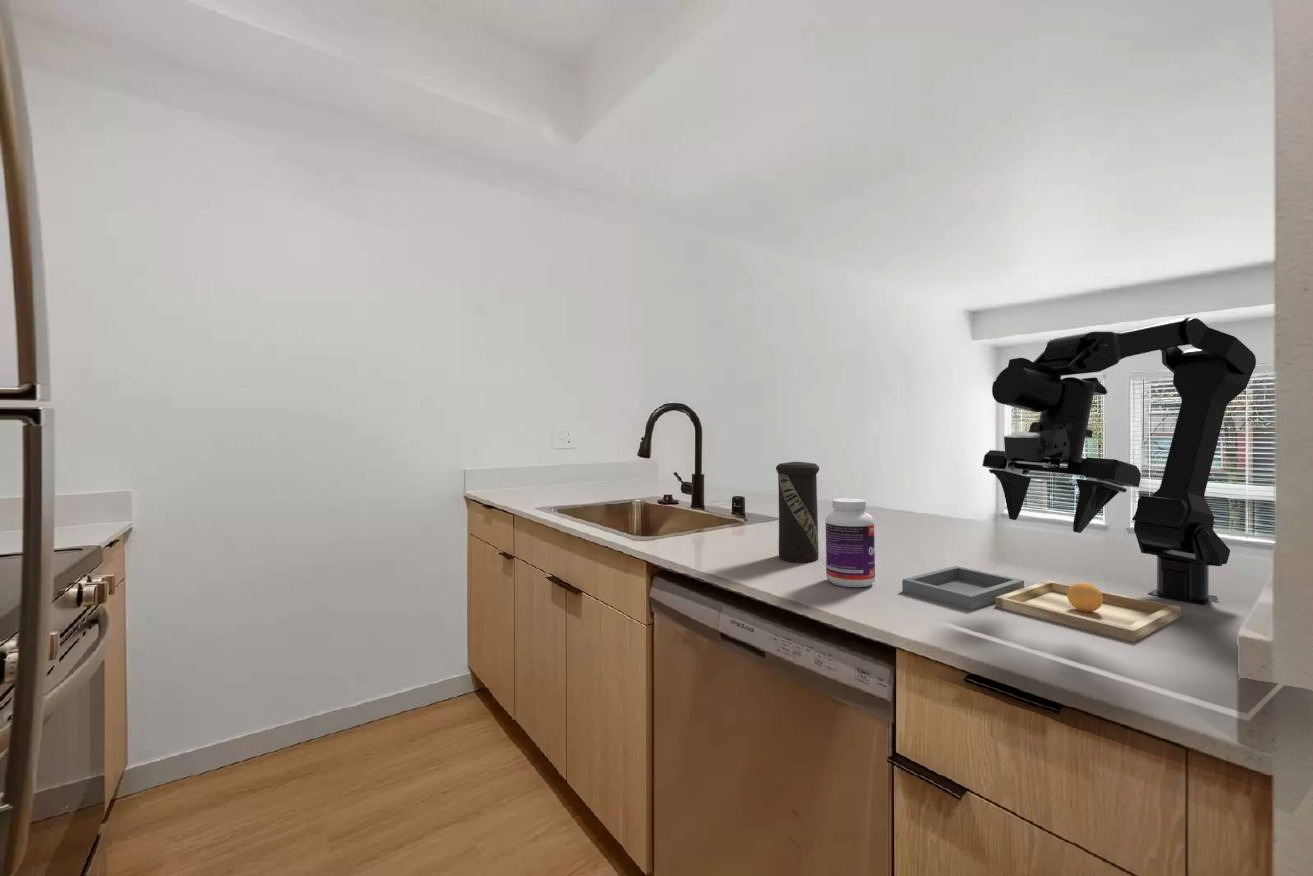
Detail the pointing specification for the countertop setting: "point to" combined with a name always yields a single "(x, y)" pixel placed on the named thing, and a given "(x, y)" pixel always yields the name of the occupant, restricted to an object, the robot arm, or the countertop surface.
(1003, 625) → the countertop surface
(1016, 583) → the tray
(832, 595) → the countertop surface
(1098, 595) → the ball
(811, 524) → the container
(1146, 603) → the dish
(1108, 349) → the robot arm
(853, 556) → the pill bottle
